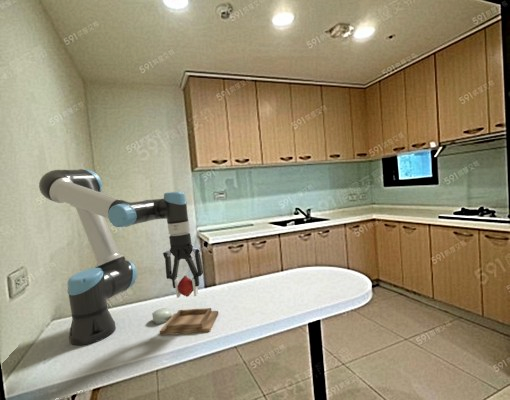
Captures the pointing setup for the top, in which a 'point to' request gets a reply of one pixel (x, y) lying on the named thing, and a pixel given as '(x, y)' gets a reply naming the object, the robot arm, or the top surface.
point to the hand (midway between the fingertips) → (187, 295)
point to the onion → (185, 286)
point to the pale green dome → (161, 315)
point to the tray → (190, 321)
